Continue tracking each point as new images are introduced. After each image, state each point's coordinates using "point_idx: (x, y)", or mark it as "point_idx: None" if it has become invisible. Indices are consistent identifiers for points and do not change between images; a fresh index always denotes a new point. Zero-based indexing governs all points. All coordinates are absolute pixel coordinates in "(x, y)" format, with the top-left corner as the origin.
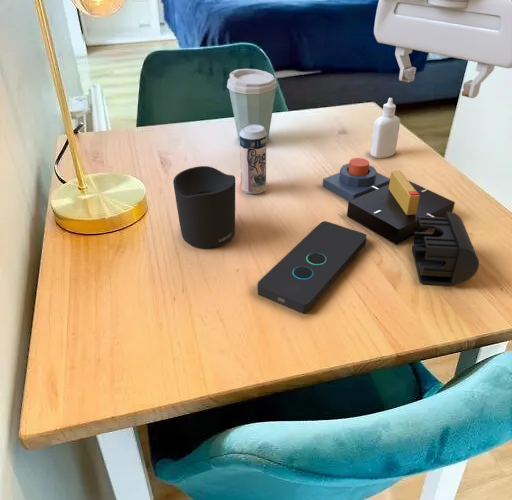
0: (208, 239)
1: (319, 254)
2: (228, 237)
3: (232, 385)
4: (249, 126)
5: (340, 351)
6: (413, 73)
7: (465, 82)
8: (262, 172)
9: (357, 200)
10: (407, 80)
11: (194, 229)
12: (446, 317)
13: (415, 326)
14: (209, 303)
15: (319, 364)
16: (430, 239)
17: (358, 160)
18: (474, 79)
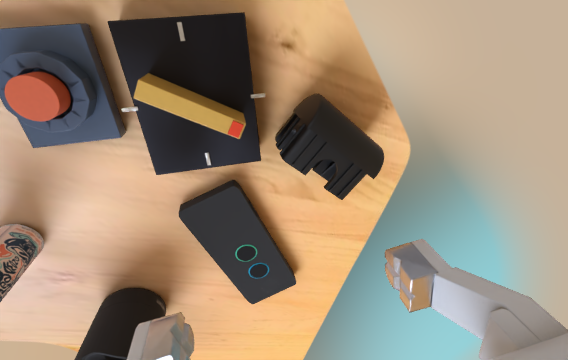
0: None
1: (242, 249)
2: (161, 303)
3: (318, 325)
4: None
5: (339, 270)
6: (178, 342)
7: (410, 307)
8: (18, 257)
9: (160, 162)
10: (192, 343)
11: None
12: (370, 186)
13: (359, 214)
14: (242, 323)
15: (339, 284)
16: (334, 187)
17: (22, 95)
18: (454, 320)
